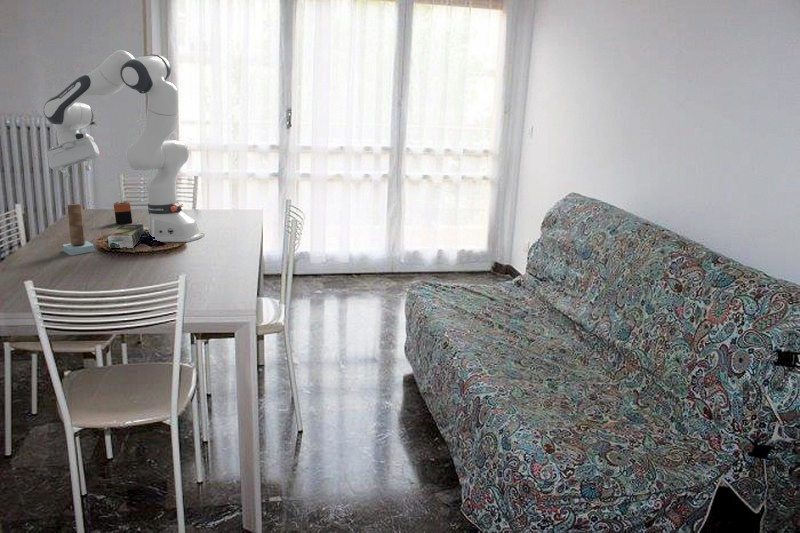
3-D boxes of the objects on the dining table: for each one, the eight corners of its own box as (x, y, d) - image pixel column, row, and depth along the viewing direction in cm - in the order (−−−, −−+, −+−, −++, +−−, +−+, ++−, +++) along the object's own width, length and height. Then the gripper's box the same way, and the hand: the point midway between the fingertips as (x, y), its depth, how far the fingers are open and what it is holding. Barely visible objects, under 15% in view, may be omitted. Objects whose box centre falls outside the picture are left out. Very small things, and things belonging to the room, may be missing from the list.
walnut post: (85, 242, 266) (82, 204, 263) (84, 244, 262) (80, 204, 259) (72, 243, 264) (69, 204, 262) (71, 244, 260) (67, 205, 258)
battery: (132, 223, 310) (129, 201, 307) (116, 224, 307) (113, 202, 305) (131, 221, 314) (129, 199, 311) (115, 223, 311) (113, 201, 308)
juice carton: (134, 249, 265) (132, 234, 264) (107, 251, 264) (105, 235, 263) (146, 238, 285) (144, 223, 283) (121, 239, 283) (119, 224, 282)
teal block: (87, 248, 270) (86, 240, 269) (95, 252, 263) (94, 245, 262) (63, 252, 264) (62, 244, 263) (70, 256, 258) (69, 249, 257)
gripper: (41, 147, 278) (49, 179, 276) (89, 132, 277) (96, 164, 275) (50, 151, 284) (58, 183, 282) (97, 136, 283) (104, 168, 281)
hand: (77, 173), depth 279 cm, fingers open, 8 cm apart
